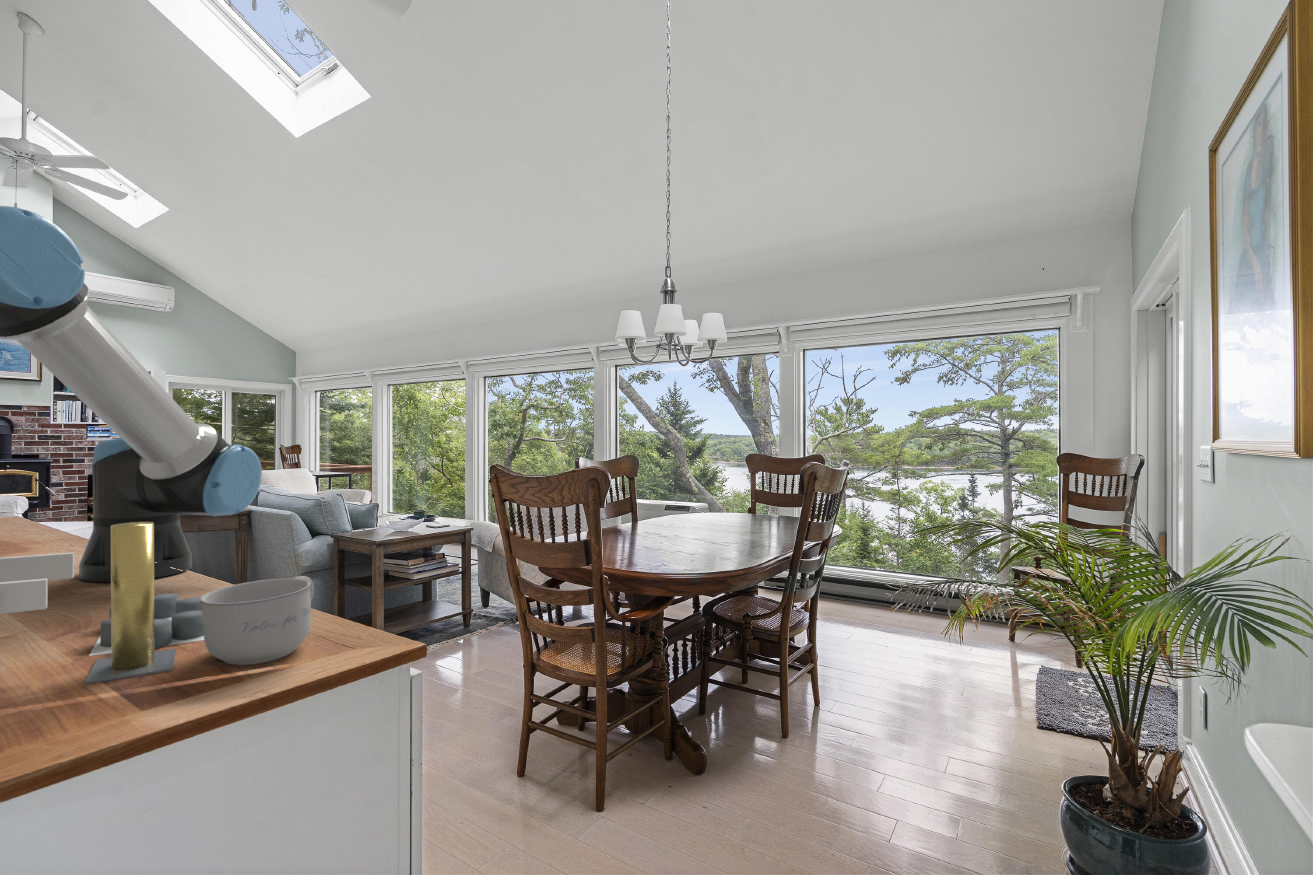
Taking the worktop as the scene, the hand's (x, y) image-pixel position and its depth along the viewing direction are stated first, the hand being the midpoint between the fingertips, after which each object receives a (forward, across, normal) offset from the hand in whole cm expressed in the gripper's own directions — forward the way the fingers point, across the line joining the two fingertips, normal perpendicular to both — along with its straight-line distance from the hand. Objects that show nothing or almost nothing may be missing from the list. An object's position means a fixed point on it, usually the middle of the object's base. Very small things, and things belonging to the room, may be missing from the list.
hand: (61, 578), depth 66 cm
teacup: (+18, +1, -11) cm, 21 cm away
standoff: (+6, 0, -10) cm, 11 cm away
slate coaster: (+6, 0, -11) cm, 12 cm away
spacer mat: (+7, -14, -10) cm, 19 cm away
